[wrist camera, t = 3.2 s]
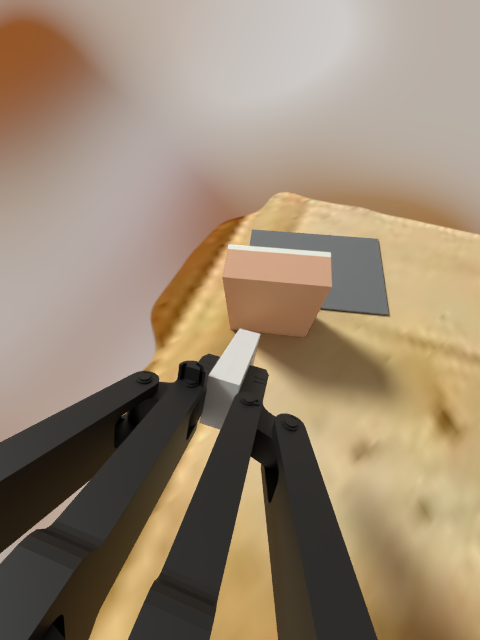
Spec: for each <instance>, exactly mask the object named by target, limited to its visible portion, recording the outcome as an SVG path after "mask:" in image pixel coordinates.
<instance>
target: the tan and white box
mask: <svg viewBox="0 0 480 640" xmlns="http://www.w3.org/2000/svg"><path fill="white" fill-rule="evenodd" d="M223 284H224V290H225V297H226V303H227V310H228V317H229V323H230V329H232V330H239V329H244V330H247V331H251V332H260V333H269V334H279V335H288V336H297V337H306V335H307V333H308V331H309V329H310V327H311V325H312V324H313V322H314V320H315V318H316V316H317V314H318V312H319V310H320V309H321V307H322V305H323V303H324V301H325V299H326V297H327V295H328V293H329V292H330V290H331V288H332V273H331V252H320V251H308V250H295V249H282V248H270V247H257V246H244V245H232V244H229V246H228V251H227V256H226V261H225V266H224V272H223Z"/></svg>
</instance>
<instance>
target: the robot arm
mask: <svg viewBox="0 0 480 640" xmlns="http://www.w3.org/2000/svg"><path fill="white" fill-rule="evenodd" d="M260 335H261V334H259V333H255V332H251V331H247V330H244V329H239V330H238V332H237V333H236V335H235V336H234V338H233V339H232V341H231V342H230V344H229V345H228V347H227V348H226V350H225V351H224V353H223V354H222V356H221V357H218V356H215V355H211V354H207V355H205V356H203V357H202V358H201V359H200V360H199V362H197V361H185V362H182V363H180V364H179V372H178V379H177V380H176V381H175V382H174V383H167V382H159V377H158V375H156V374H155V373H153V372H149V371H140V372H136V373H134V374H132V375H130V376H128V377H126V378H124V379H122V380H120V381H118V382H116V383H114V384H112V385H111V386H109V387H107V388H105V389H103V390H101V391H99V392H97V393H95V394H93V395H91V396H89V397H87V398H85V399H83V400H81V401H79V402H78V403H76V404H74V405H72V406H70V407H68V408H66V409H64V410H62V411H60V412H58V413H56V414H54V415H52V416H50V417H48V418H47V419H45V420H43V421H41V422H39V423H37V424H35V425H33V426H31V427H29V428H27V429H25V430H23V431H22V432H20V433H18V434H16V435H14V436H12V437H10V438H8V439H6V440H4V441H2V442H0V553H1V552H3V551H4V550H5V549H6V548H7V547H9V546H10V545H11V544H12V543H14V542H15V541H16V540H17V539H18V538H20V537H21V536H22V535H23V534H25V533H26V532H27V531H28V530H29V529H31V528H32V527H33V526H34V525H36V524H37V523H38V522H39V521H40V520H42V519H43V518H44V517H45V516H47V515H48V514H49V513H50V512H51V511H53V510H54V509H55V508H56V507H58V506H59V505H60V504H61V503H62V502H64V501H65V500H66V499H67V498H69V497H70V496H71V495H72V494H73V493H75V492H76V491H77V490H78V489H79V488H81V487H82V486H83V485H85V484H86V483H87V482H88V481H89V480H90V481H89V482H88V484H87V485H86V486H85V487H84V488H83V489H82V490H81V492H80V493H79V494H78V495H77V496H76V497H75V499H74V500H73V501H72V502H71V503H70V504H69V505H68V507H67V508H66V509H65V510H64V511H63V513H62V514H61V515H60V516H59V517H58V518H57V519H56V521H55V522H54V523H53V524H52V525H51V526H49V527H48V528H46V529H37V530H35V531H34V532H32V533H31V534H29V535H28V536H27V537H26V538H24V539H23V541H21V542H20V543H19V544H18V545H17V546H16V547H15V548H14V550H13V551H12V552H11V553H10V554H9V555H8V556H7V557H6V558H5V559H4V561H3V562H2V563H1V564H0V640H88V639H89V637H90V635H91V632H92V629H93V626H94V623H95V620H96V617H97V615H98V613H99V610H100V608H101V606H102V604H103V602H104V601H105V599H106V597H107V595H108V593H109V591H110V589H111V587H112V586H113V584H114V582H115V580H116V578H117V576H118V574H119V573H120V571H121V569H122V567H123V565H124V563H125V561H126V560H127V558H128V556H129V554H130V552H131V550H132V548H133V546H134V545H135V543H136V541H137V539H138V537H139V535H140V533H141V532H142V530H143V528H144V526H145V524H146V522H147V520H148V519H149V517H150V515H151V513H152V511H153V509H154V507H155V505H156V504H157V502H158V500H159V498H160V496H161V494H162V492H163V491H164V489H165V487H166V485H167V483H168V481H169V479H170V478H171V476H172V474H173V472H174V470H175V468H176V466H177V464H178V463H179V461H180V459H181V457H182V455H183V453H184V451H185V450H186V448H187V446H188V444H189V442H190V440H191V438H192V437H193V435H194V433H195V431H196V428H197V422H198V420H199V418H200V416H201V419H200V423H202V424H205V425H208V426H211V427H214V428H217V429H220V433H219V435H218V437H217V440H216V442H215V444H214V447H213V449H212V452H211V454H210V456H209V459H208V461H207V464H206V466H205V468H204V471H203V473H202V476H201V478H200V480H199V483H198V485H197V488H196V490H195V492H194V495H193V497H192V500H191V502H190V504H189V507H188V509H187V512H186V514H185V516H184V519H183V521H182V524H181V526H180V528H179V531H178V533H177V536H176V538H175V540H174V543H173V545H172V547H171V550H170V552H169V555H168V557H167V559H166V562H165V564H164V567H163V569H162V571H161V573H160V575H159V577H158V578H157V579H156V580H155V581H154V583H153V585H152V586H151V588H150V590H149V592H148V595H147V597H146V599H145V601H144V604H143V606H142V608H141V610H140V613H139V615H138V617H137V620H136V622H135V624H134V627H133V629H132V631H131V634H130V636H129V638H128V640H209V639H210V635H211V631H212V626H213V622H214V617H215V612H216V606H217V600H218V595H219V591H220V586H221V582H222V578H223V573H224V569H225V565H226V560H227V556H228V552H229V547H230V543H231V539H232V534H233V530H234V526H235V521H236V517H237V513H238V508H239V504H240V500H241V495H242V491H243V486H244V482H245V478H246V473H247V469H248V465H249V460H250V456H251V457H252V458H254V459H255V460H257V461H258V462H260V463H261V474H262V483H263V493H264V503H265V513H266V523H267V533H268V543H269V553H270V563H271V573H272V583H273V592H274V602H275V612H276V622H277V632H278V640H378V639H377V636H376V634H375V631H374V628H373V625H372V622H371V619H370V616H369V613H368V610H367V607H366V604H365V601H364V598H363V595H362V592H361V589H360V587H359V584H358V581H357V578H356V575H355V572H354V569H353V566H352V563H351V560H350V557H349V554H348V551H347V548H346V545H345V542H344V540H343V537H342V534H341V531H340V528H339V525H338V522H337V519H336V516H335V513H334V510H333V507H332V504H331V501H330V498H329V495H328V492H327V490H326V487H325V484H324V481H323V478H322V475H321V472H320V469H319V466H318V463H317V460H316V457H315V454H314V451H313V448H312V445H311V443H310V440H309V437H308V434H307V431H306V428H305V426H304V424H303V422H302V421H301V420H300V419H298V418H297V417H295V416H293V415H290V414H279V415H277V417H275V416H274V415H272V414H271V413H269V412H268V411H267V410H266V409H265V408H264V406H263V397H264V393H265V389H266V384H267V380H268V376H269V375H268V373H267V371H266V370H265V369H262V368H258V367H255V366H253V363H254V359H255V355H256V351H257V347H258V343H259V339H260ZM126 412H127V413H126ZM125 413H126V414H125ZM123 414H125V415H123ZM122 415H123V416H122Z"/></svg>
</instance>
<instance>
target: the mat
mask: <svg viewBox="0 0 480 640" xmlns="http://www.w3.org/2000/svg"><path fill="white" fill-rule="evenodd" d="M250 246H257V247H270V248H282V249H295V250H308V251H320V252H331V273H332V288H331V290H330V292H329V293H328V295H327V297H326V299H325V301H324V303H323V305H322V307H321V309H326V310H337V311H347V312H357V313H368V314H378V315H389V313H388V306H387V299H386V292H385V284H384V277H383V270H382V263H381V256H380V249H379V242H378V239H372V238H358V237H345V236H331V235H318V234H304V233H291V232H277V231H264V230H252V234H251V240H250Z"/></svg>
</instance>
